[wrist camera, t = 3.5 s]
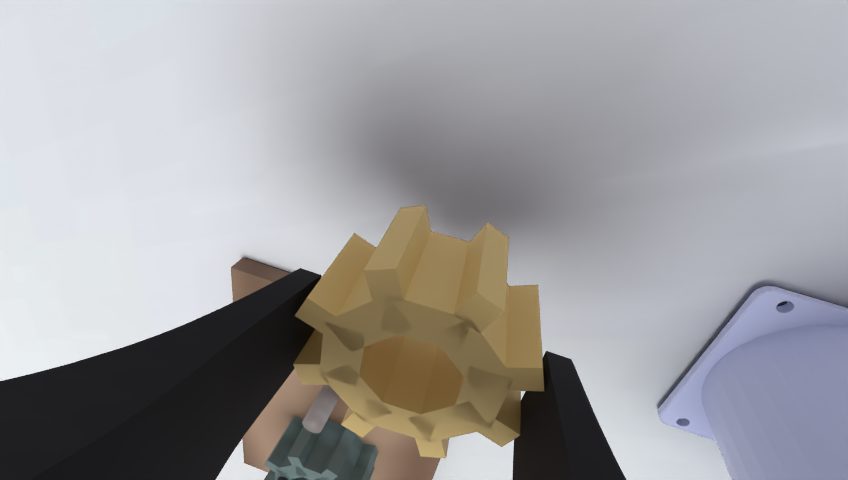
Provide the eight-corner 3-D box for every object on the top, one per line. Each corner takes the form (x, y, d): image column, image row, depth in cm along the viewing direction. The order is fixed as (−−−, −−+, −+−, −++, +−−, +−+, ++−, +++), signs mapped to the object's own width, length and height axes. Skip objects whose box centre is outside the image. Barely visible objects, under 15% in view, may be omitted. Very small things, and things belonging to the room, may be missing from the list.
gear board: (484, 337, 20) (466, 438, 15) (416, 514, 29) (391, 610, 25) (243, 257, 21) (159, 326, 17) (252, 450, 31) (200, 528, 26)
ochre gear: (567, 244, 10) (582, 322, 8) (500, 390, 13) (495, 480, 11) (350, 184, 11) (297, 240, 8) (333, 339, 14) (290, 414, 11)
